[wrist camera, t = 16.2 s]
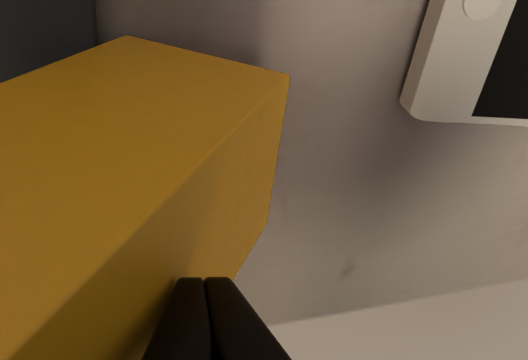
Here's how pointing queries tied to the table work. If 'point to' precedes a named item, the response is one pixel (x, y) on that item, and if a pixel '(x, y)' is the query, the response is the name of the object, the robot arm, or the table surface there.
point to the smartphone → (470, 64)
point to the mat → (43, 33)
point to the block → (126, 190)
